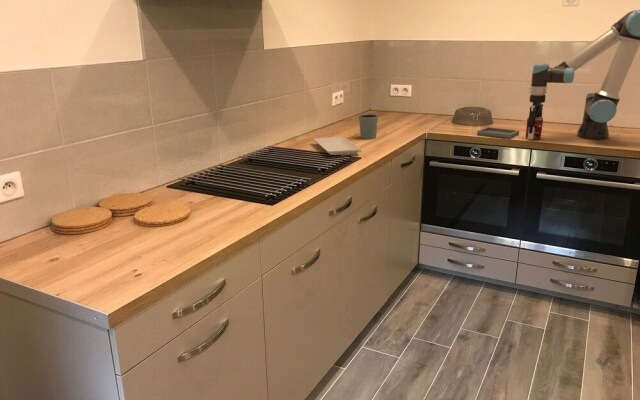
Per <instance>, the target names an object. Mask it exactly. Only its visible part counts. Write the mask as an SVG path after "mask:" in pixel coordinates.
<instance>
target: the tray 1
mask: <svg viewBox="0 0 640 400" xmlns="http://www.w3.org/2000/svg"><path fill="white" fill-rule="evenodd" d="M313 141H314V143H316V144H317V145H318V146H320V147H321V148H322V149H323V150H324V151H325V152H326V153H328V154H329V155H330V156H331V155H341V156H353V155H356V154H357V153H360V152H361V151H362V148H360V147H359V146H357V145H356V144H354V143H353V142H351V141H350V140H349V139H347V138H346V137H343V136H336V137H335V136H333V137H331V136H330V137H314V138H313Z"/></svg>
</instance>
